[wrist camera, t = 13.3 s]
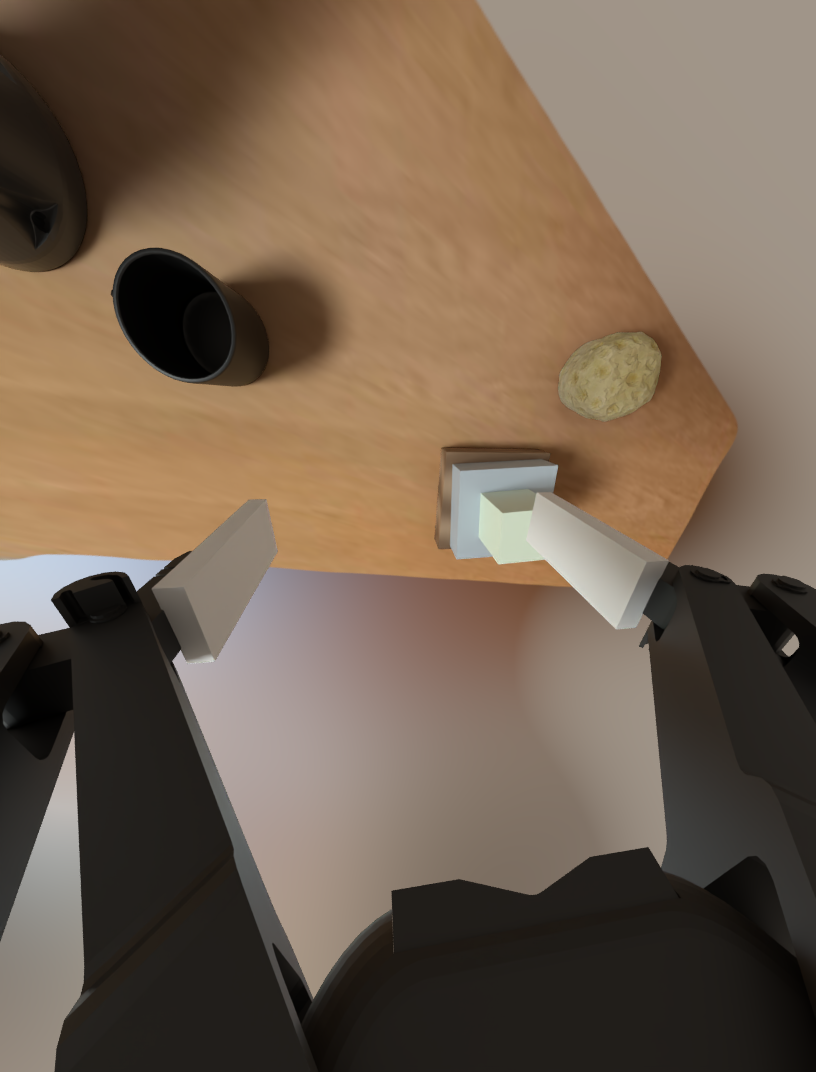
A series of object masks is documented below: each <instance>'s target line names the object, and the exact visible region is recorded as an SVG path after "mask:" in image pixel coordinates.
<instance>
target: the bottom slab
mask: <svg viewBox="0 0 816 1072" xmlns="http://www.w3.org/2000/svg"><path fill="white" fill-rule="evenodd" d="M550 454H551V453H548V452H545V451H542V450H539V449H489V448H441V459H440V472H439V486H438V499H437V512H436V525H435V541H436V544H437V546H438V549H451V547H450V532H451V499H452V467H453V464H463V463H480V462H498V461H516V460H534V459H543V460H545V461H548V462H549V458H550Z"/></svg>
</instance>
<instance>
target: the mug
mask: <svg viewBox="0 0 816 1072" xmlns="http://www.w3.org/2000/svg"><path fill="white" fill-rule="evenodd" d="M111 295H112V297H113V303H114V309H115V313H116V317H117V319H118V322H119V325H120V327H121V329H122V331H123V333H124V335H125V337H126V338H127V340H128V341H129V343H130V344H131V346H132V347H133V348H134V349H135V351H136V352H137V353H138V354H139V355H140V356H141V357H142V358H143V359H144V360H145V361H146V362H147V363H148V364H149V365H151V366H152V367H153V368H155V369H156V370H157V371H159V372H161V373H162V374H164V375H166V376H168V377H170V378H173V379H175V380H179V381H182V382H187V383H196V384H209V385H221V386H243V385H247V384H249V383H251V382H253V381H254V380H256V379H257V378H258V377H259V376H260V375H261V374H262V372H263V371H264V369H265V366H266V364H267V360H268V355H269V342H268V337H267V333H266V330H265V327H264V325H263V323H262V320H261V319H260V317H259V315H258V314H257V312H256V311H255V309H254V308H253V307H252V306H251V305H250V304H249V303H248V302H247V301H246V300H245V299H244V298H243V297H241V296H240V295H239V294H237V293H236V292H235V291H233V290H232V289H231V288H229V287H228V286H227V285H225V284H224V283H223V282H221V281H220V280H219V279H217V278H216V277H215V276H213V275H212V274H210V273H209V272H208V271H206V270H205V269H204V268H202V267H201V266H200V265H198V264H197V263H196V262H194V261H193V260H191V259H190V258H188V257H186V256H184V255H182V254H180V253H177V252H175V251H172V250H168V249H163V248H147V249H142V250H139V251H137V252H134V253H133V254H131V255H130V256H128V257H127V258H126V259H125V260H124V261H123V262H122V264H121V265H120V267H119V268H118V271H117V273H116V275H115V279H114V284H113V290H112V291H111Z"/></svg>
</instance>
